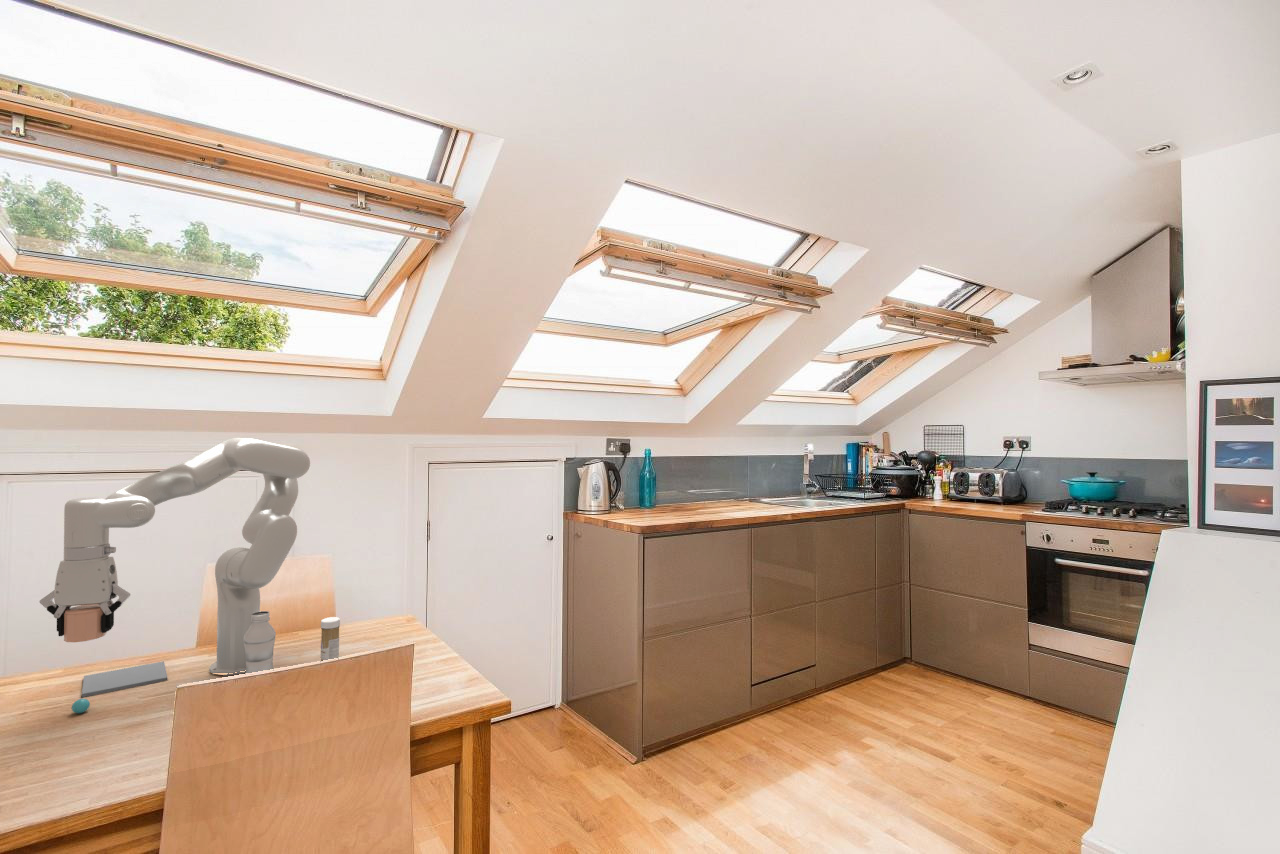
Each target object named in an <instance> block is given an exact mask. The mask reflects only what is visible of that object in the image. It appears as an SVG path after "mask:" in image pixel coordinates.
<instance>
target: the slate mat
mask: <svg viewBox="0 0 1280 854" xmlns="http://www.w3.org/2000/svg"><path fill="white" fill-rule="evenodd" d="M165 680H167V681H168V673H167V669H166V665H165V661H159V662H157V661H156V662H152V663H147V664H146V663H145V664H142V665H137V666H130V667H125V668H119V669H115V670H109V671H103V672H98V673H92V674H87V675H83V681H82V690H81V698H87V697H90V696H91V697H92V696H97V695H101V694H102V695H103V694H107V693H111V692H117V691H122V690H126V688H127V689H131V687H132V688H137V687H141V686H148V685H151V684H156V683H160V682H161V681H162V682H166V681H165ZM136 686H137V687H136ZM121 689H122V690H121Z"/></svg>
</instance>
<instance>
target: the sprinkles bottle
mask: <svg viewBox="0 0 1280 854" xmlns="http://www.w3.org/2000/svg"><path fill="white" fill-rule="evenodd" d="M340 627H341V618H340V617H337V616H330V617H329V616H328V617H324V618H323V619H321V621H320V628H321V631H320V632H321V633H320V634H321V639H320V640H321V641H320V662H321V661H323V660H328V659H334V658H338V659H339V657H340Z"/></svg>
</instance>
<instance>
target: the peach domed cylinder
mask: <svg viewBox="0 0 1280 854" xmlns="http://www.w3.org/2000/svg"><path fill="white" fill-rule="evenodd" d="M102 615H104V612H103V610H102V609H101V607H100V606H99V604H93V605H78V606H71V608H69V609H67V610H65V613H64V635H63V641H64V642H66V643H83V642H89V641H93V640H97V639H99V638H100V639H101V638H102V637H105V635H107V632H106V633H102V632H101V616H102Z"/></svg>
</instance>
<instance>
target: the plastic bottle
mask: <svg viewBox="0 0 1280 854" xmlns="http://www.w3.org/2000/svg"><path fill="white" fill-rule="evenodd" d="M270 614H271V613H270V611H269V610H260V612H255V613H252V615H251V623H252V625H251V626H250V628H249V629H248V630H247V632H246V633H245V635H244V646H245V652H246V673H252V672H258V671H263V670H270V669H273V670H274V662H273V661H274V658H273V657H274V647H275V641H276V635H277V633H276V630H275V628H274V627H273V625H272V624H271V623H270V620H271V617H270ZM246 673H245V674H246Z"/></svg>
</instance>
